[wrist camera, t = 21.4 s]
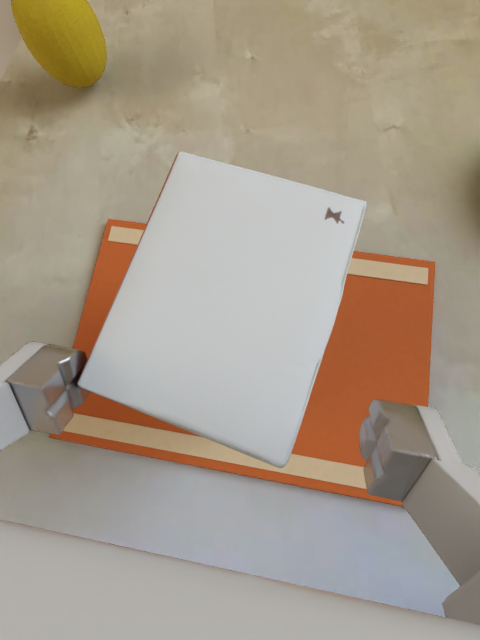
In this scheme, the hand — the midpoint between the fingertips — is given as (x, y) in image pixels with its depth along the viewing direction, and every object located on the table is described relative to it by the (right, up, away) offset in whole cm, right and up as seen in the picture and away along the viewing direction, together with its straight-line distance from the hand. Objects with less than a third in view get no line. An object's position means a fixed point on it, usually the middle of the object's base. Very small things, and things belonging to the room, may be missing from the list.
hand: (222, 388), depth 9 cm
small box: (+1, 0, +13) cm, 13 cm away
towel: (+1, 0, +13) cm, 13 cm away
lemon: (-12, +22, +19) cm, 32 cm away
